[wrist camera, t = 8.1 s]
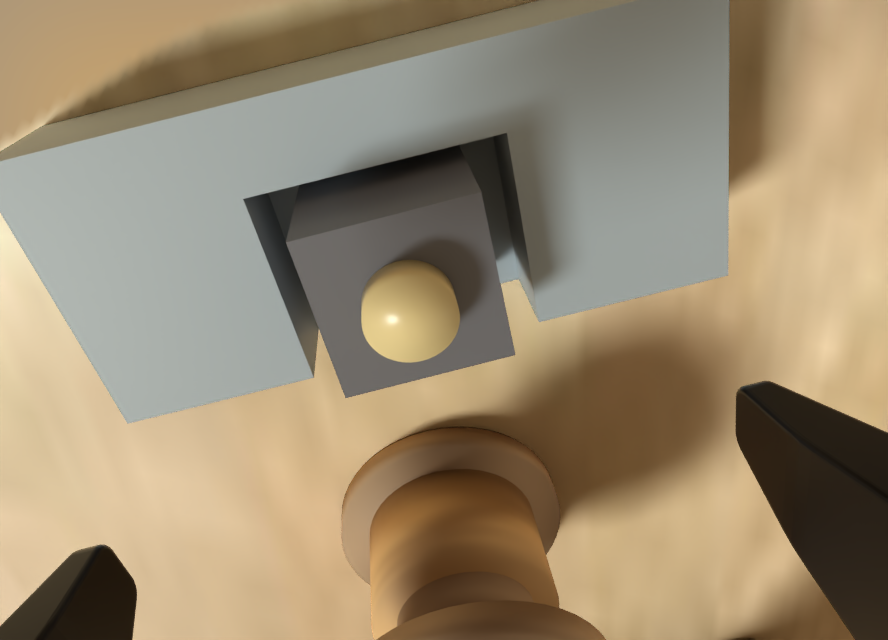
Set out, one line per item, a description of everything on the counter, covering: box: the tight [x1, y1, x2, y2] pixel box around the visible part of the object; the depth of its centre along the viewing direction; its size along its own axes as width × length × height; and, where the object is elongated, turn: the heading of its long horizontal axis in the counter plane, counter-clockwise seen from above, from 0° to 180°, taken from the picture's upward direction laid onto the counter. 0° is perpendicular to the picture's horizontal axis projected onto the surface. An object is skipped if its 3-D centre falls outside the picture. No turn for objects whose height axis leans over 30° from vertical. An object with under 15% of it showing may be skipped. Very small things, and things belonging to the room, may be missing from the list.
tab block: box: [286, 145, 515, 398], centre depth 16 cm, size 4×4×5 cm
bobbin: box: [341, 427, 606, 640], centre depth 22 cm, size 8×8×8 cm
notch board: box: [0, 0, 730, 423], centre depth 17 cm, size 16×7×4 cm, turn 102°
